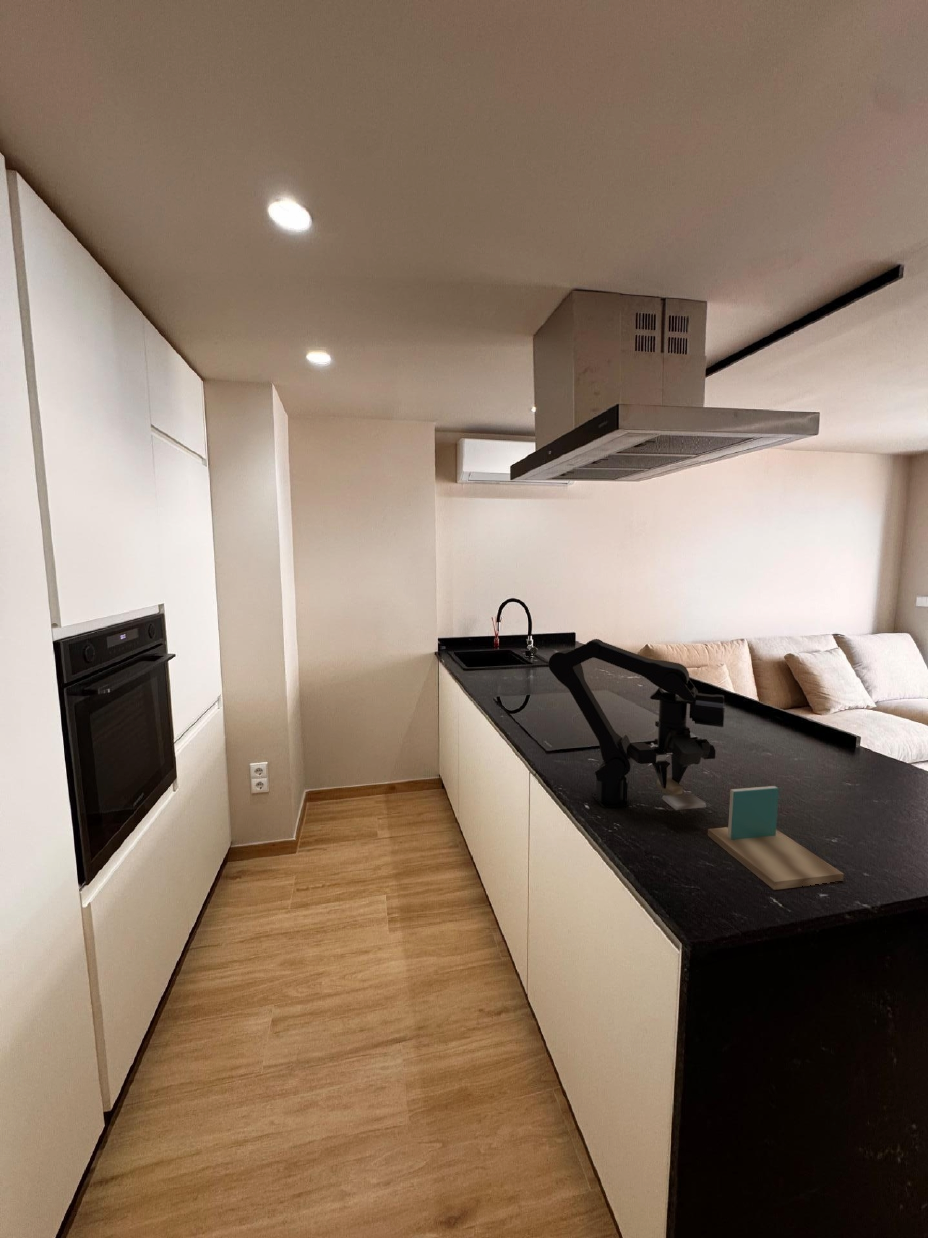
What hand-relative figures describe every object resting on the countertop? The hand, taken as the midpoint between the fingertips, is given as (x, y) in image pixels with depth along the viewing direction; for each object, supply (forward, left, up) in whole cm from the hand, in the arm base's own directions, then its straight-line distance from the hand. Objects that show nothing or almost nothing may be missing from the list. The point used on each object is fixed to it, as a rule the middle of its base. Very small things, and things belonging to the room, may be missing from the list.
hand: (669, 787), depth 114 cm
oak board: (+10, -19, -6) cm, 22 cm away
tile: (+10, -14, 0) cm, 17 cm away
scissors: (+18, +32, -7) cm, 37 cm away
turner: (0, -2, -1) cm, 3 cm away
